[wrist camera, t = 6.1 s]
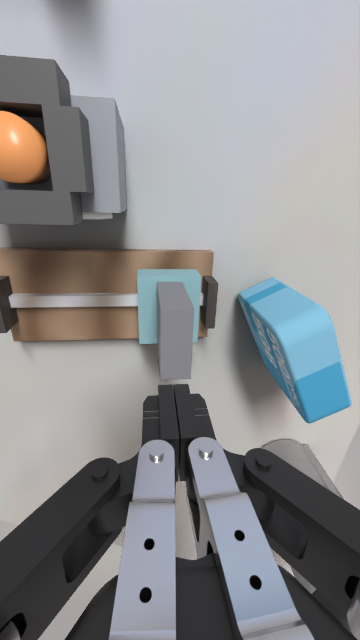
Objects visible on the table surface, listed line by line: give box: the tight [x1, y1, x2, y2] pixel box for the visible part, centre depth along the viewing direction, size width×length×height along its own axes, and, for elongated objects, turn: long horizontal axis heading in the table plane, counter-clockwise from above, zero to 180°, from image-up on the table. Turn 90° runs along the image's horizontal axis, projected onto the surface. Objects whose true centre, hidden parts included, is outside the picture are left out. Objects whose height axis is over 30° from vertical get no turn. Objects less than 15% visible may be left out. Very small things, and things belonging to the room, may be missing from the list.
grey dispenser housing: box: [0, 55, 127, 225], centre depth 21 cm, size 12×8×11 cm
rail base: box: [0, 248, 218, 341], centre depth 29 cm, size 22×10×4 cm, turn 88°
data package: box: [238, 278, 351, 423], centre depth 30 cm, size 12×4×12 cm, turn 25°
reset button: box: [0, 111, 51, 185], centre depth 17 cm, size 4×4×2 cm
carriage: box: [137, 269, 202, 380], centre depth 25 cm, size 6×7×10 cm
